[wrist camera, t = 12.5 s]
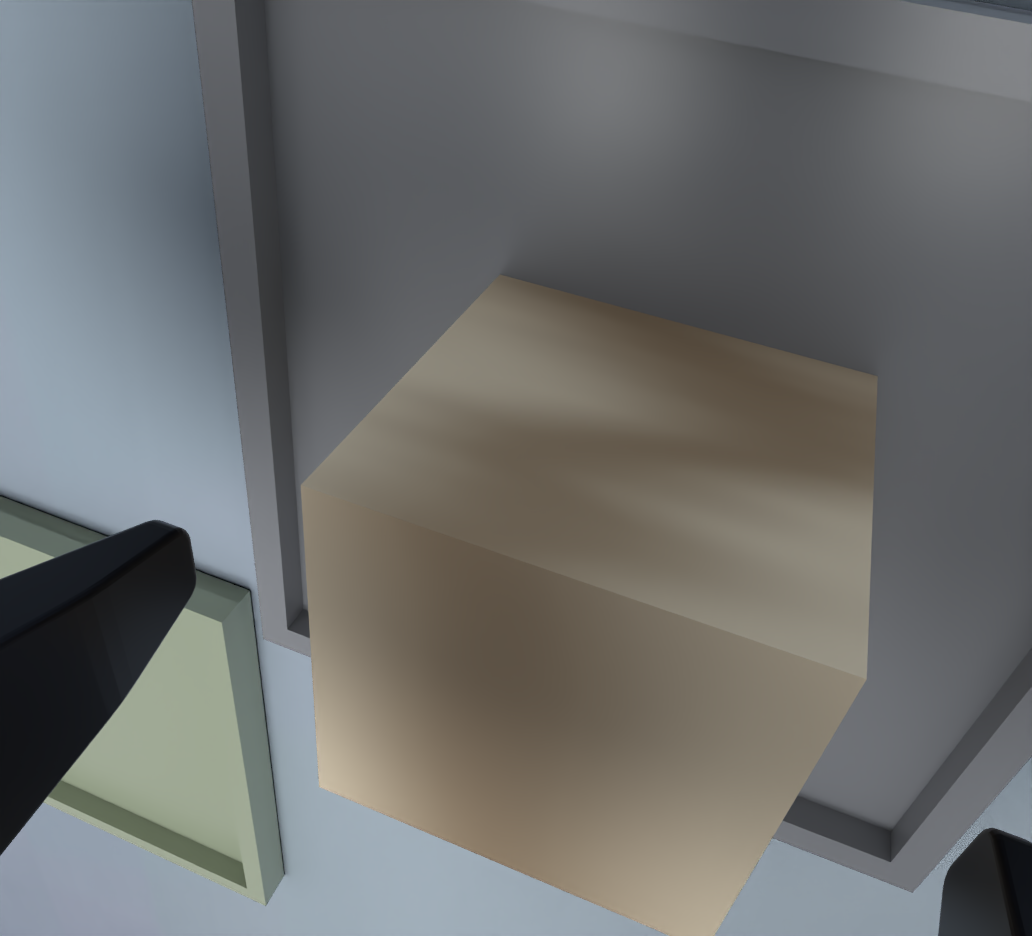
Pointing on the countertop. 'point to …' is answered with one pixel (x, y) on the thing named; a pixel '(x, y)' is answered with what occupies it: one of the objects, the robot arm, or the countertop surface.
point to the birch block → (594, 596)
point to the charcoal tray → (674, 289)
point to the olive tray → (176, 732)
